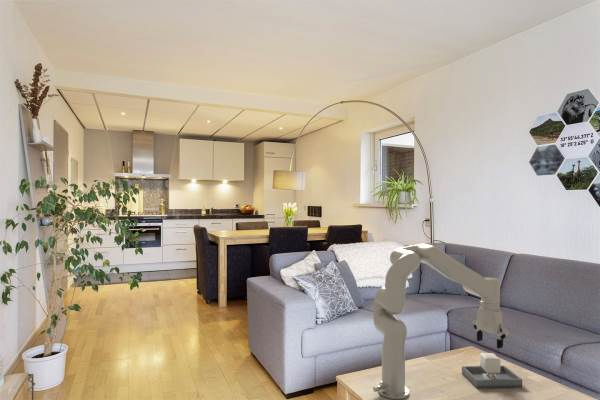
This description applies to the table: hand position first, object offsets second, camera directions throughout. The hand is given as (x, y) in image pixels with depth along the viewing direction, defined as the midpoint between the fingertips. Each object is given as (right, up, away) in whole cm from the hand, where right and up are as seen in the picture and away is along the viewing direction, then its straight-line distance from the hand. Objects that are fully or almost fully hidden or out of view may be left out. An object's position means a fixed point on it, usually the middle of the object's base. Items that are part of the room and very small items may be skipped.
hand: (489, 344), depth 172 cm
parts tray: (+1, -16, 0) cm, 16 cm away
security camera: (0, -15, 0) cm, 15 cm away
